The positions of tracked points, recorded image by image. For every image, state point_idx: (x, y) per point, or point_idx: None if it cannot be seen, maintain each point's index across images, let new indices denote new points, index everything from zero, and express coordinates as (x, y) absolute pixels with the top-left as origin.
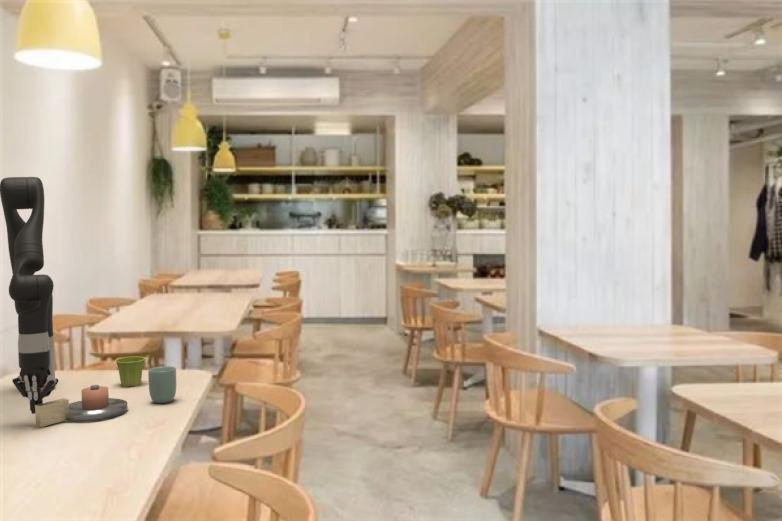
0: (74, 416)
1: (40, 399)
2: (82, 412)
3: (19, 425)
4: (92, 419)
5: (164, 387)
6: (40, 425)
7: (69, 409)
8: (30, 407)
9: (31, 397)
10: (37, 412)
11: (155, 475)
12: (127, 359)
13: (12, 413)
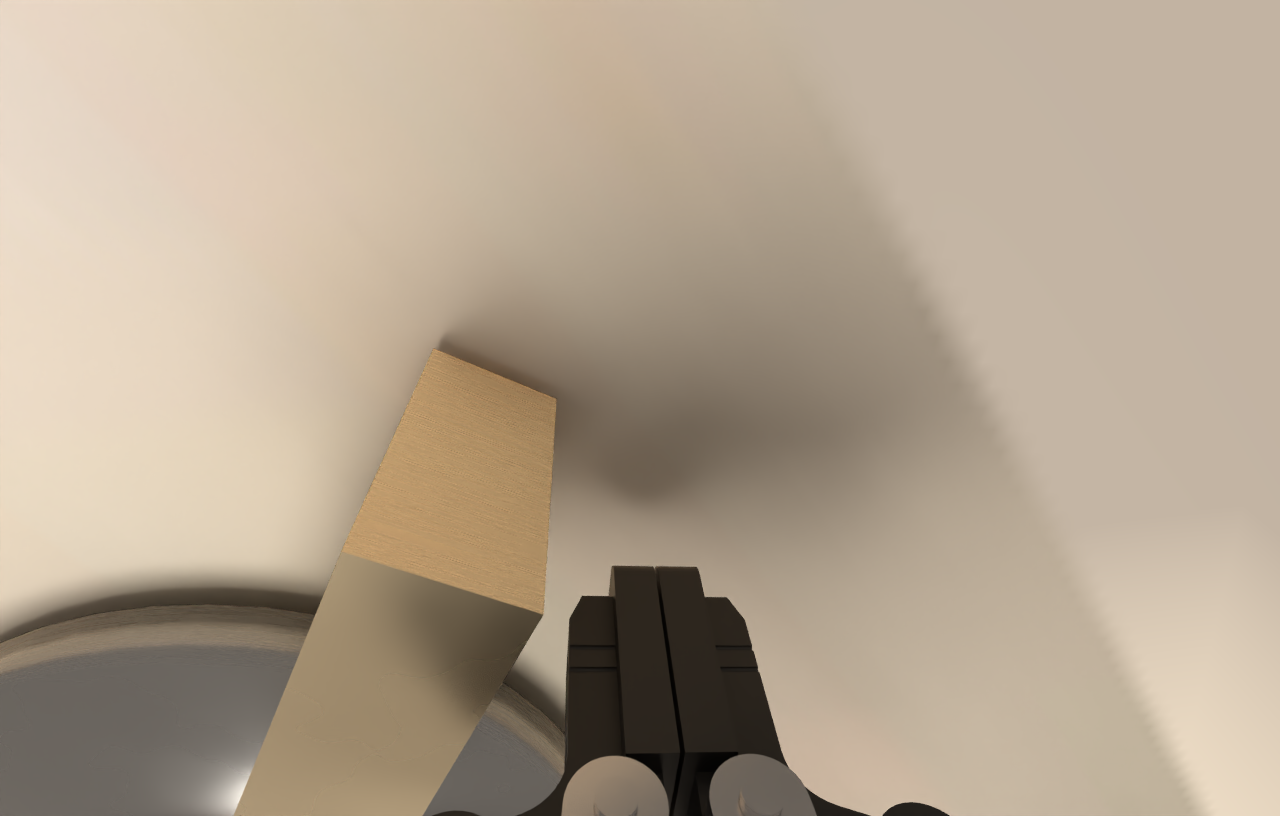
0: (152, 652)
1: (559, 807)
2: (158, 759)
3: (828, 430)
4: None
5: None
6: (433, 357)
7: (430, 811)
8: (743, 645)
9: (727, 811)
10: (474, 491)
11: None
12: None
13: (1100, 731)
